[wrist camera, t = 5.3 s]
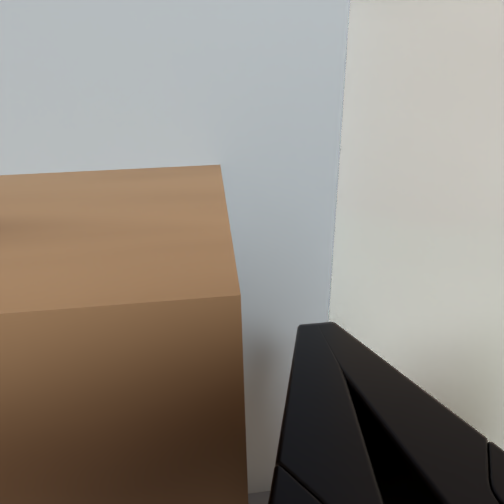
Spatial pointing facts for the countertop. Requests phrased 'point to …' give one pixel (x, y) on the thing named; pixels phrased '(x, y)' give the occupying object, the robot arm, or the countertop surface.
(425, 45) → the countertop surface
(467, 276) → the countertop surface
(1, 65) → the board
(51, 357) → the walnut block
